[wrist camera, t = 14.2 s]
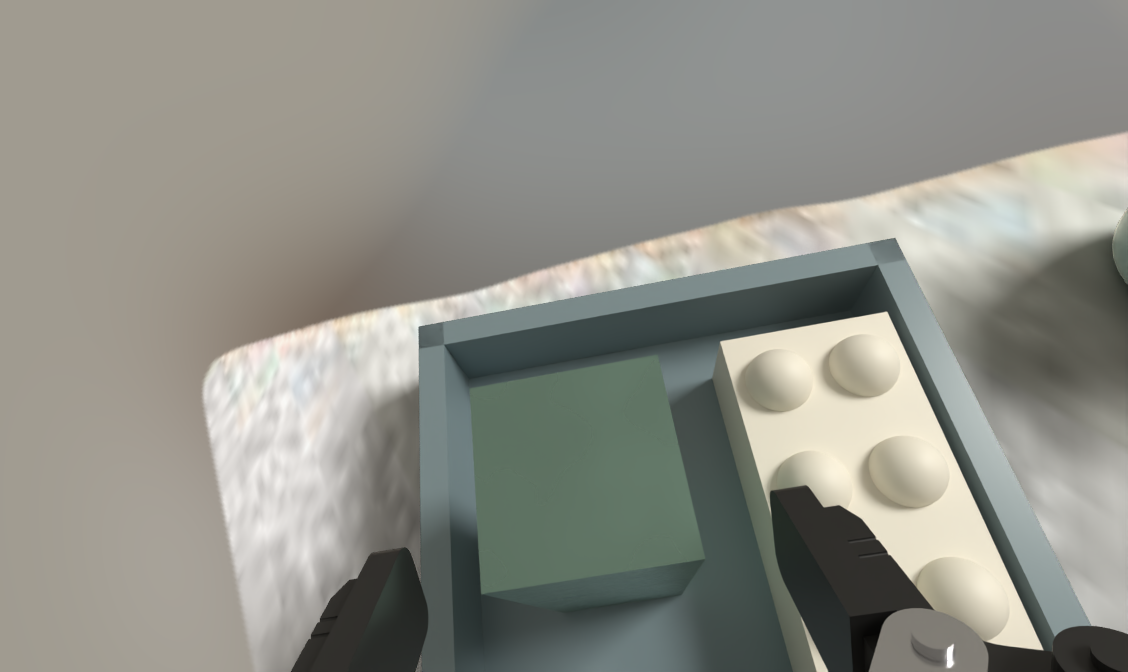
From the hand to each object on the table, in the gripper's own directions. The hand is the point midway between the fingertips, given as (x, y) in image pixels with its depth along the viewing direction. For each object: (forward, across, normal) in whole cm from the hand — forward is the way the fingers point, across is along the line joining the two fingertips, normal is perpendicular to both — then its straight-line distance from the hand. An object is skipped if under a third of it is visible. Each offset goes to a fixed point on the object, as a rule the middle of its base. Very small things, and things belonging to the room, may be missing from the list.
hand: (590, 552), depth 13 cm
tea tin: (+11, 0, +8) cm, 13 cm away
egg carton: (+12, -9, +8) cm, 17 cm away
